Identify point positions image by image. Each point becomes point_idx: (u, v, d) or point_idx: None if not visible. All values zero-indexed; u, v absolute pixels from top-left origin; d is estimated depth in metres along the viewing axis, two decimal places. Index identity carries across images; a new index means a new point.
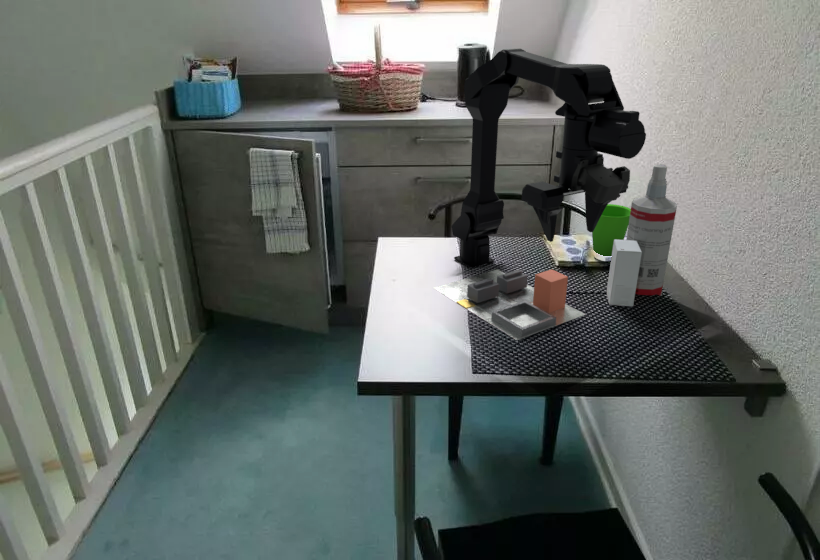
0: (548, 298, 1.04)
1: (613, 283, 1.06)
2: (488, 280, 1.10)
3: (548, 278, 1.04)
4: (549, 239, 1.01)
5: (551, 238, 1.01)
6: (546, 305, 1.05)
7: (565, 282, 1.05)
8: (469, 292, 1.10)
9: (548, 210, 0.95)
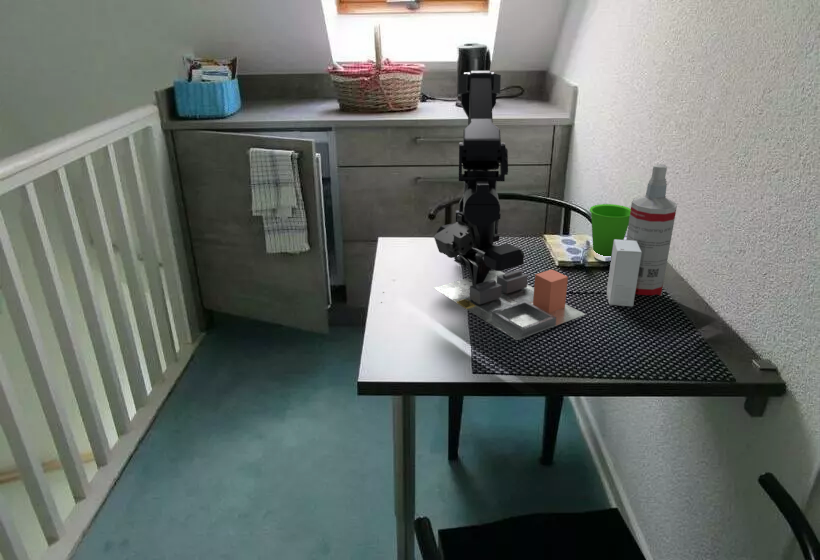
0: (548, 298, 1.04)
1: (613, 283, 1.06)
2: (491, 281, 1.09)
3: (548, 278, 1.04)
4: (474, 284, 1.11)
5: (472, 283, 1.11)
6: (546, 305, 1.05)
7: (565, 282, 1.05)
8: (471, 293, 1.09)
9: None
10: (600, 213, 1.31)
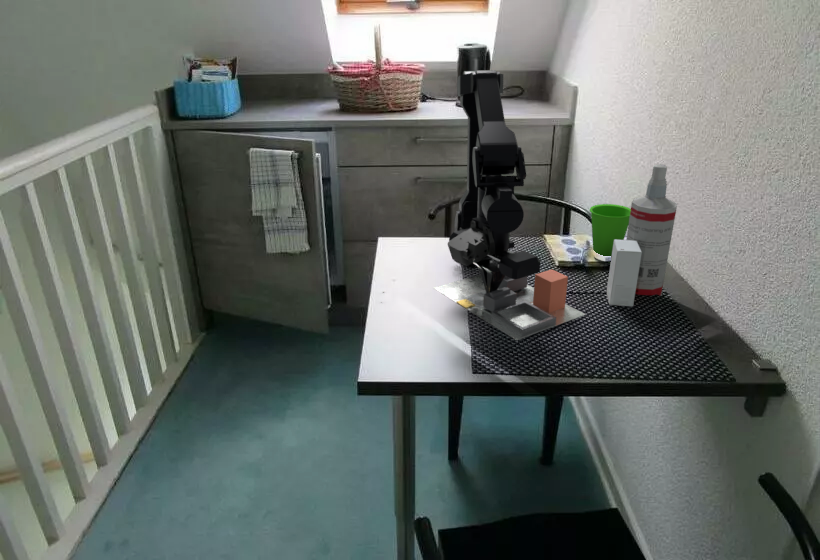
0: (548, 298, 1.04)
1: (613, 283, 1.06)
2: (505, 289, 1.06)
3: (548, 278, 1.04)
4: (488, 292, 1.08)
5: (486, 291, 1.08)
6: (546, 305, 1.05)
7: (565, 282, 1.05)
8: (485, 302, 1.06)
9: None
10: (600, 213, 1.31)
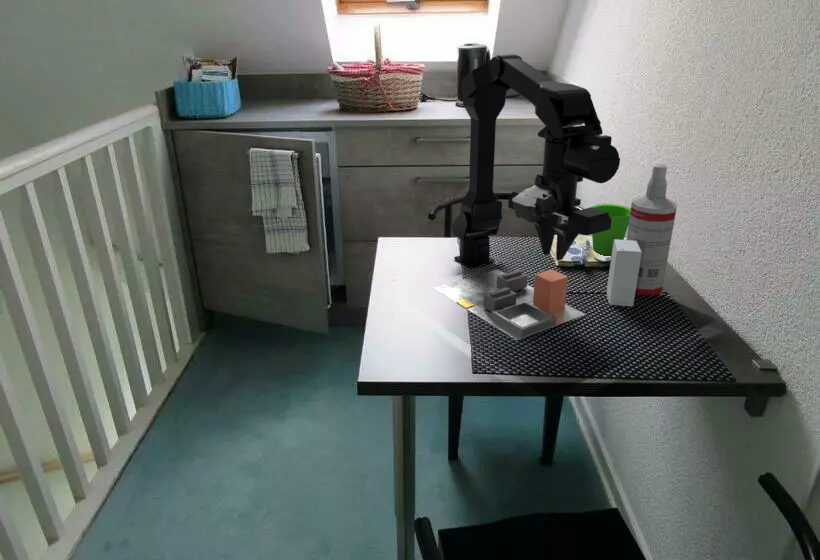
0: (548, 298, 1.04)
1: (613, 283, 1.06)
2: (505, 289, 1.06)
3: (548, 278, 1.04)
4: None
5: (542, 250, 1.04)
6: (546, 305, 1.05)
7: (565, 282, 1.05)
8: (485, 302, 1.06)
9: None
10: None
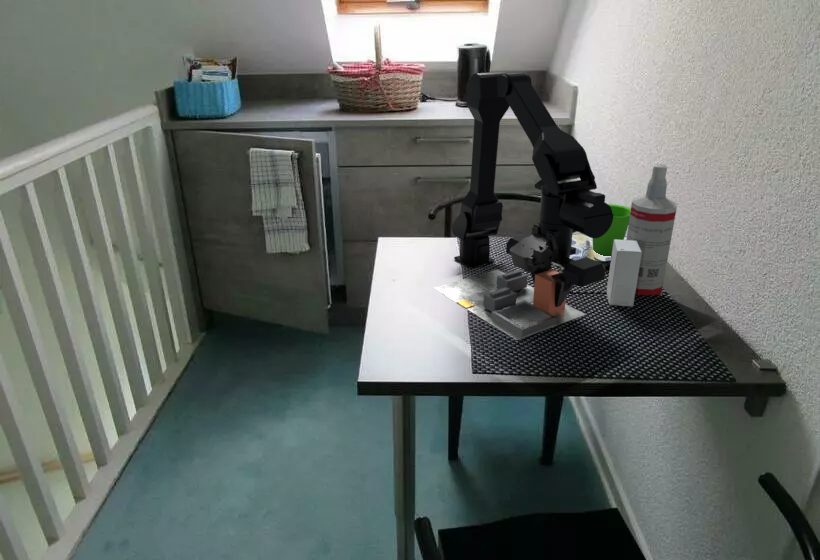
0: (547, 298, 1.04)
1: (613, 283, 1.06)
2: (505, 289, 1.06)
3: (548, 278, 1.04)
4: None
5: None
6: (546, 305, 1.05)
7: None
8: (485, 302, 1.06)
9: None
10: None
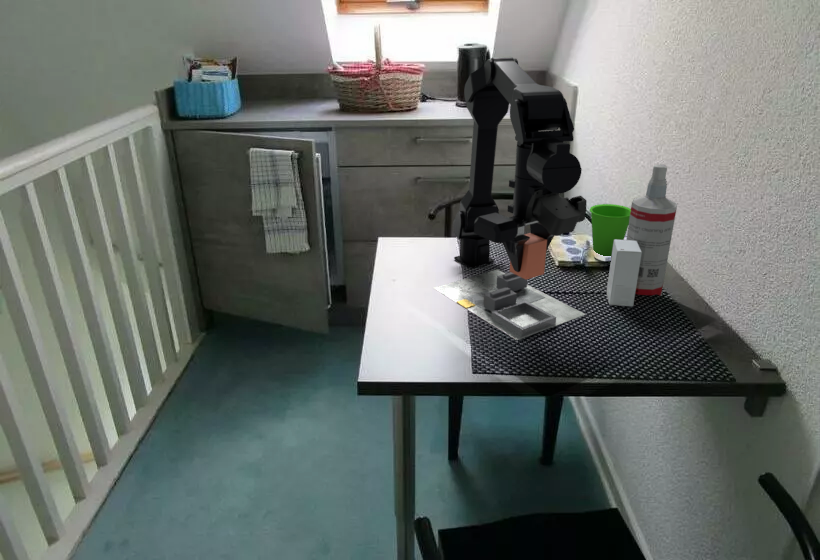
0: (543, 259, 0.97)
1: (613, 283, 1.06)
2: (505, 289, 1.06)
3: (537, 240, 0.95)
4: (516, 269, 0.97)
5: (518, 268, 0.96)
6: (542, 268, 0.97)
7: None
8: (485, 302, 1.06)
9: (514, 241, 0.91)
10: (600, 213, 1.31)
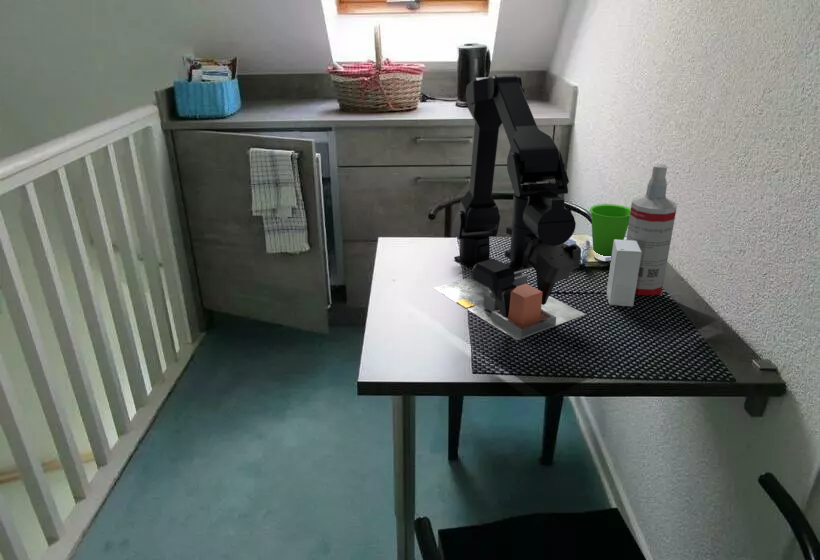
0: (539, 310, 1.00)
1: (613, 283, 1.06)
2: None
3: (532, 292, 0.99)
4: (504, 315, 0.99)
5: (506, 314, 0.98)
6: (538, 318, 1.01)
7: None
8: (485, 302, 1.06)
9: (501, 290, 0.93)
10: (600, 213, 1.31)
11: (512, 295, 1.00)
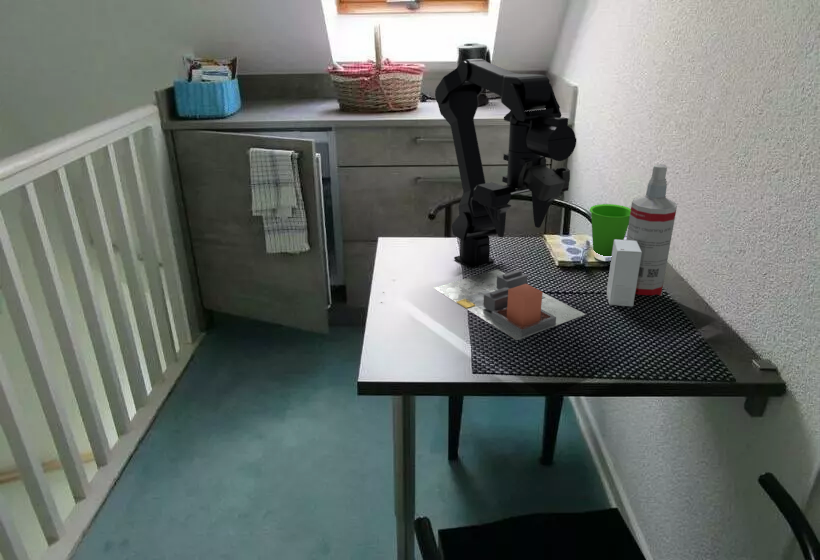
0: (539, 310, 1.00)
1: (613, 283, 1.06)
2: (505, 289, 1.06)
3: (532, 292, 0.99)
4: (500, 235, 1.10)
5: (502, 234, 1.10)
6: (538, 318, 1.01)
7: None
8: (485, 302, 1.06)
9: (497, 208, 1.04)
10: (600, 213, 1.31)
11: (512, 295, 1.00)
